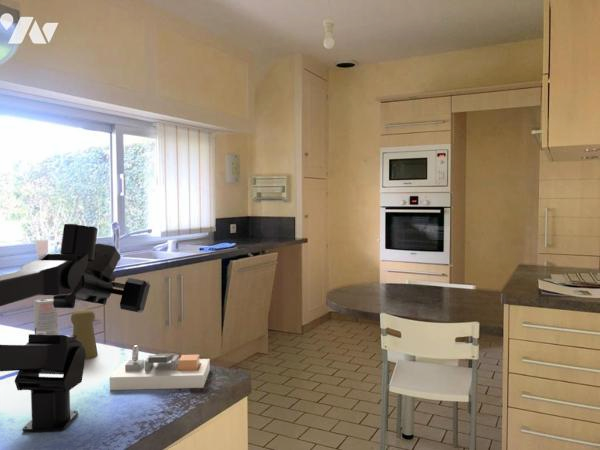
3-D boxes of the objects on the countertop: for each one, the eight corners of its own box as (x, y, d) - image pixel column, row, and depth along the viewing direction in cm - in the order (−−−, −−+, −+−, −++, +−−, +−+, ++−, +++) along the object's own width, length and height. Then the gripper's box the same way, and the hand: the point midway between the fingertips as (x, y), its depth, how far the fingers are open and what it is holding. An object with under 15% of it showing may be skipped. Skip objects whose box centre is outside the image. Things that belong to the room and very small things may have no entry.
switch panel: (203, 387, 97) (203, 365, 97) (109, 390, 96) (109, 367, 96) (209, 370, 107) (209, 349, 107) (125, 372, 106) (124, 351, 106)
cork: (102, 352, 120) (101, 307, 120) (89, 360, 114) (88, 313, 114) (78, 351, 121) (77, 307, 120) (64, 359, 115) (63, 312, 114)
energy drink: (50, 342, 128) (49, 296, 128) (63, 345, 126) (62, 299, 125) (30, 348, 124) (29, 300, 123) (43, 351, 121) (41, 302, 120)
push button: (196, 374, 100) (196, 360, 100) (178, 375, 100) (178, 360, 100) (199, 368, 104) (199, 354, 104) (182, 369, 104) (181, 354, 103)
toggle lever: (137, 361, 101) (138, 345, 102) (131, 361, 101) (132, 345, 102) (138, 361, 102) (139, 345, 103) (132, 361, 102) (133, 345, 103)
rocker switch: (166, 362, 98) (166, 356, 98) (148, 363, 97) (148, 356, 98) (174, 358, 105) (174, 352, 106) (157, 358, 105) (157, 353, 105)
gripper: (140, 250, 92) (169, 263, 107) (48, 234, 94) (89, 249, 109) (124, 310, 90) (156, 315, 105) (31, 292, 92) (75, 299, 107)
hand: (119, 293), depth 107 cm, fingers open, 9 cm apart
